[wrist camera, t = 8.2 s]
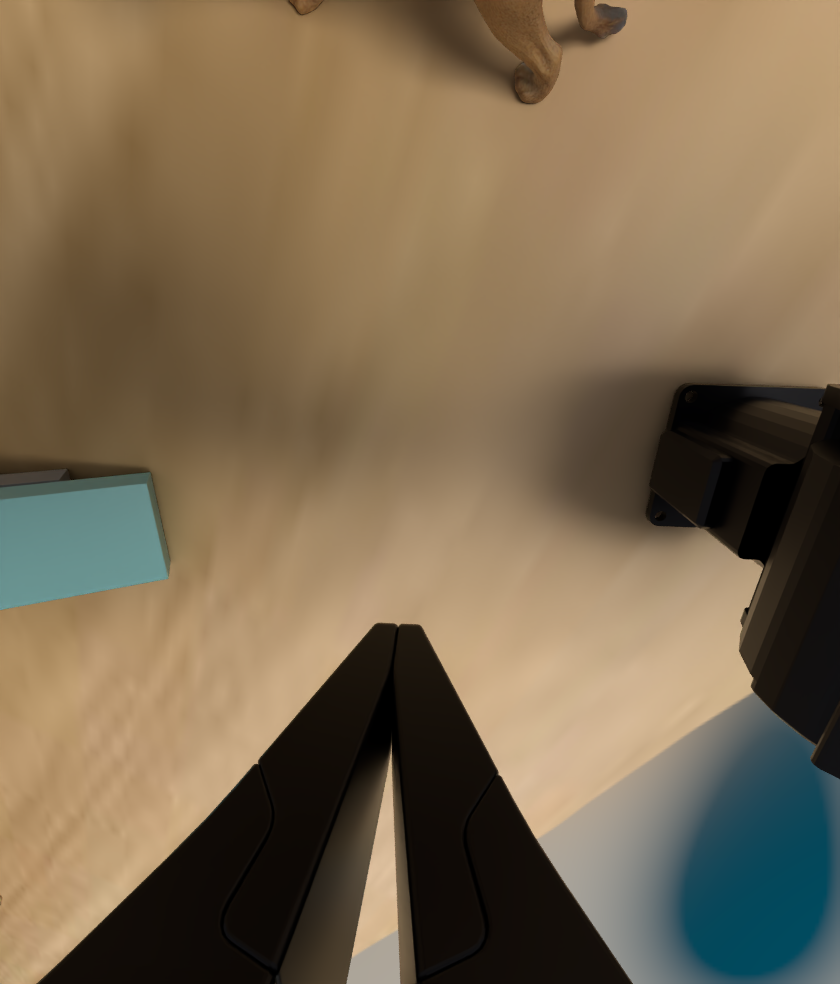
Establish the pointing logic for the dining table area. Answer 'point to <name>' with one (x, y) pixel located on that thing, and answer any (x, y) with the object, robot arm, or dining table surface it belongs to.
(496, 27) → the lion figurine
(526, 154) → the dining table surface
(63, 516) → the domino
